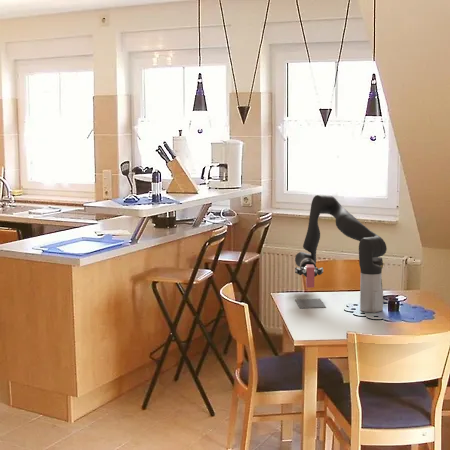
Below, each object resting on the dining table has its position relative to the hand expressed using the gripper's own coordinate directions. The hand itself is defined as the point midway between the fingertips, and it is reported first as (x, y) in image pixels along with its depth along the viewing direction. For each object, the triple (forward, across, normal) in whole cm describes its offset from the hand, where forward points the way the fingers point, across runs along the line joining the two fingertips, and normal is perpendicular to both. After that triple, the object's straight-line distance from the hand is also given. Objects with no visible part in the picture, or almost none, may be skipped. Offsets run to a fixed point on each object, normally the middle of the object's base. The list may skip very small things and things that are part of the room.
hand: (310, 274), depth 353 cm
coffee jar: (-22, +32, +15) cm, 41 cm away
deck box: (-3, 0, +6) cm, 7 cm away
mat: (-3, 0, +15) cm, 15 cm away
